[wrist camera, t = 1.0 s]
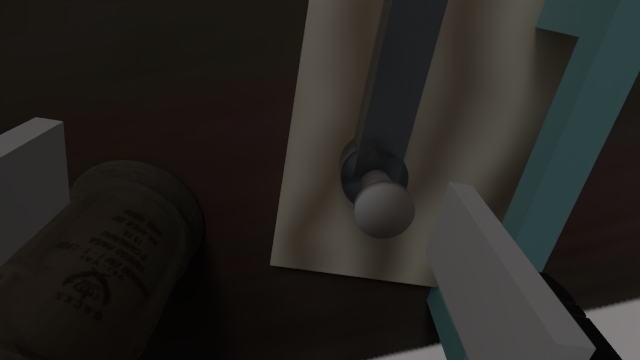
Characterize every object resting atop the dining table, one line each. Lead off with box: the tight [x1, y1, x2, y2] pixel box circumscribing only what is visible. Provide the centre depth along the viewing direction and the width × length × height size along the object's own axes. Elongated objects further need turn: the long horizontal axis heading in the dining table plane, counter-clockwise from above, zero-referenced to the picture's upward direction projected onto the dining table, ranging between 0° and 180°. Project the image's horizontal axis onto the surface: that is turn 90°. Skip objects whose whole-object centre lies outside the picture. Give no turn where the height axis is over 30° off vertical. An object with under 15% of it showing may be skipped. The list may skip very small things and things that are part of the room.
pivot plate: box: [270, 0, 579, 288], centre depth 28 cm, size 20×25×9 cm
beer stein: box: [0, 160, 204, 360], centre depth 27 cm, size 15×11×20 cm
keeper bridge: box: [427, 0, 640, 360], centre depth 29 cm, size 2×26×8 cm, turn 170°
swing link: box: [339, 0, 448, 204], centre depth 27 cm, size 15×4×3 cm, turn 170°
